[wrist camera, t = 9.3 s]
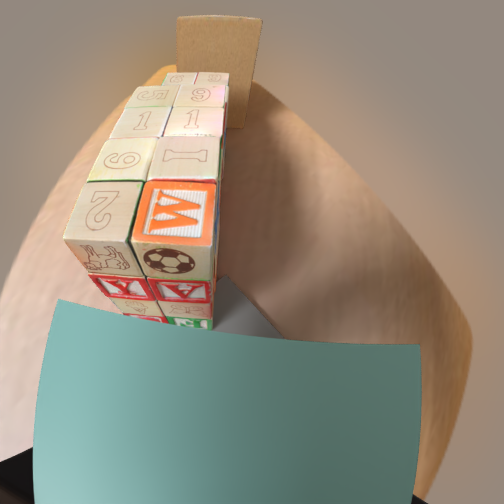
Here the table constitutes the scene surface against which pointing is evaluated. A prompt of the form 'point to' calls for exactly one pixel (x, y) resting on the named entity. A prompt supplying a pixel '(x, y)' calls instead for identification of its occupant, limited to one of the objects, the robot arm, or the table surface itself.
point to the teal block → (220, 416)
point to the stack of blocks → (158, 202)
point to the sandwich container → (221, 54)
